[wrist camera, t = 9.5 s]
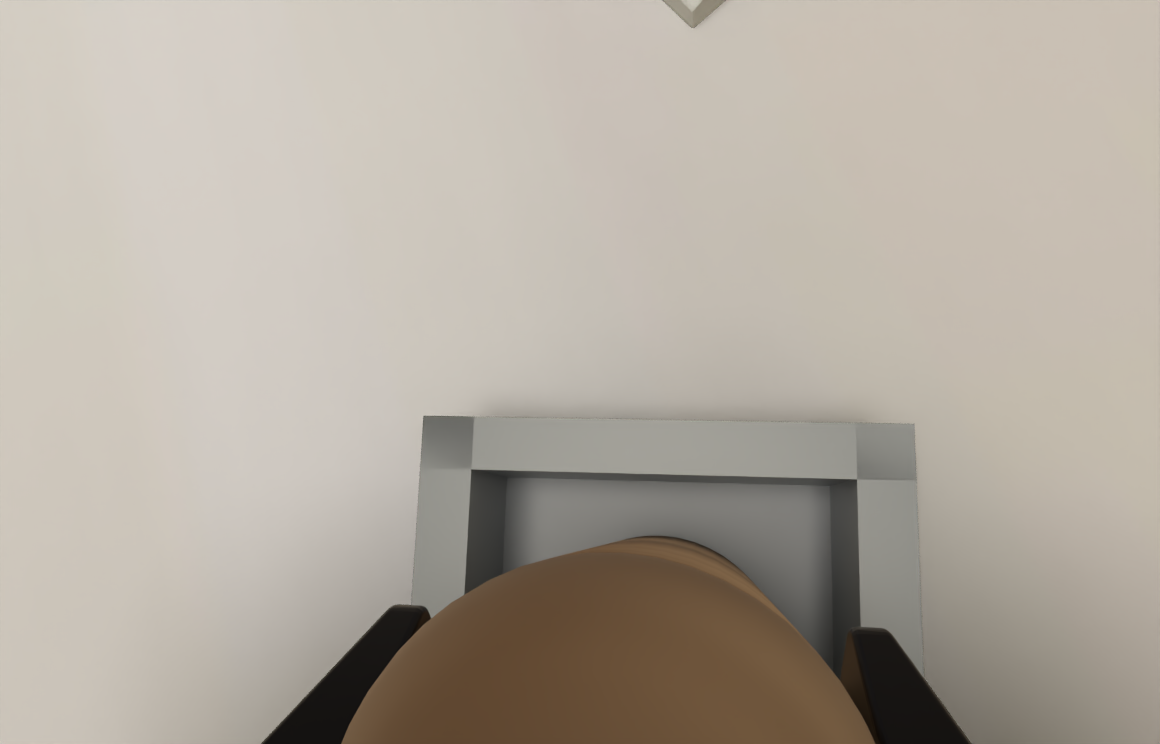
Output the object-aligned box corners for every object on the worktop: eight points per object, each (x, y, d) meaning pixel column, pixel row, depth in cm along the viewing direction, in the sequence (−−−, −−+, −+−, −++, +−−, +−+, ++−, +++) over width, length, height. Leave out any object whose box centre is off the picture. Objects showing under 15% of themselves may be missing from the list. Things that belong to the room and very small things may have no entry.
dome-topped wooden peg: (625, 850, 15) (434, 1734, 4) (488, 625, 16) (44, 846, 5) (838, 703, 15) (1224, 1202, 4) (687, 487, 16) (664, 415, 5)
